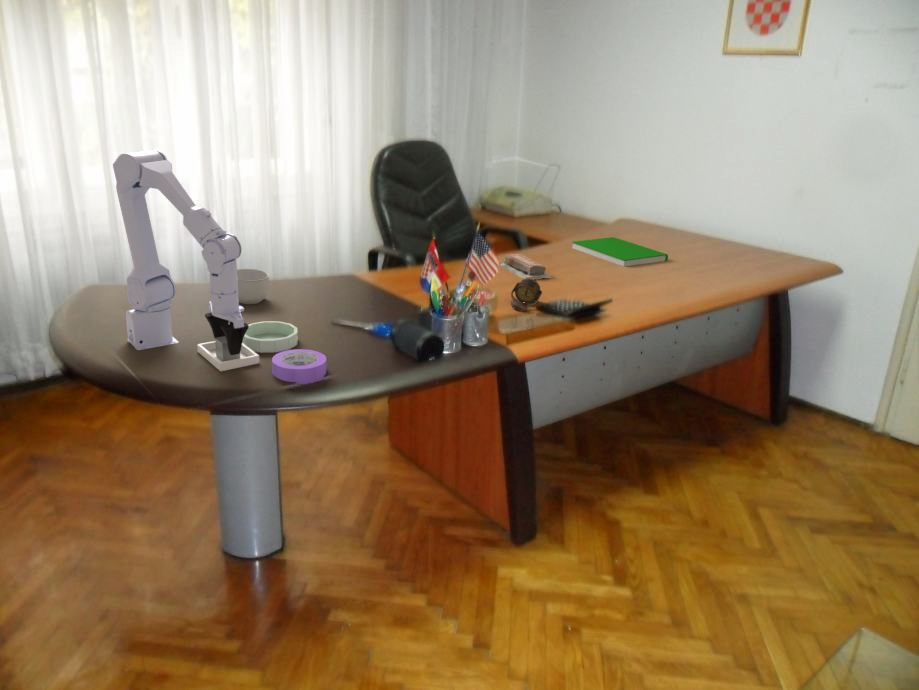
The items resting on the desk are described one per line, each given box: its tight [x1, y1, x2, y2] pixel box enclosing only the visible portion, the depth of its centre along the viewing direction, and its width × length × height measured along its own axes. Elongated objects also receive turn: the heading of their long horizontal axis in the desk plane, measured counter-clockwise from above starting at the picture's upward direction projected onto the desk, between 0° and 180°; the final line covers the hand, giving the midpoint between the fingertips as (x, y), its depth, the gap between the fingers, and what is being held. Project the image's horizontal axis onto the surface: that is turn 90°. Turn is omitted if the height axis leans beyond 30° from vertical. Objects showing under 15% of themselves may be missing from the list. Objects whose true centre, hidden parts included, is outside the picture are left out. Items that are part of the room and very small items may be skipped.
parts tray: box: [196, 340, 260, 372], centre depth 171 cm, size 9×13×2 cm
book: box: [571, 236, 669, 267], centre depth 284 cm, size 22×28×3 cm
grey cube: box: [214, 336, 240, 362], centre depth 170 cm, size 4×4×4 cm
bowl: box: [242, 320, 299, 353], centre depth 181 cm, size 13×13×4 cm
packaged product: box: [499, 253, 552, 280], centre depth 254 cm, size 18×5×10 cm
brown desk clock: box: [510, 278, 543, 311], centre depth 220 cm, size 7×13×10 cm
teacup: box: [237, 267, 270, 305], centre depth 208 cm, size 14×11×8 cm
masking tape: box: [271, 348, 328, 386], centre depth 166 cm, size 12×12×4 cm
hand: (228, 348), depth 170 cm, fingers open, 7 cm apart
